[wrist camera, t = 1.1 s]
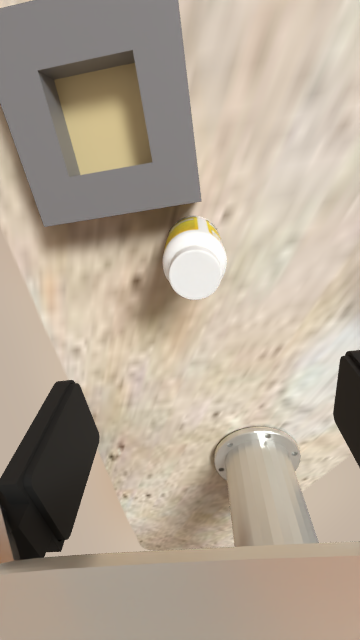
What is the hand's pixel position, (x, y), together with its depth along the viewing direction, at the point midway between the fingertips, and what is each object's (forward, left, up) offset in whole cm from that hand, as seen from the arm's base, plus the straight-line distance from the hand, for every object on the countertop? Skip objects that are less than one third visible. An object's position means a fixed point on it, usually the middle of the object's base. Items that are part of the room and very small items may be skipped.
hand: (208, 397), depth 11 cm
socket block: (+9, +9, -23) cm, 26 cm away
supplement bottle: (0, 0, -23) cm, 23 cm away
